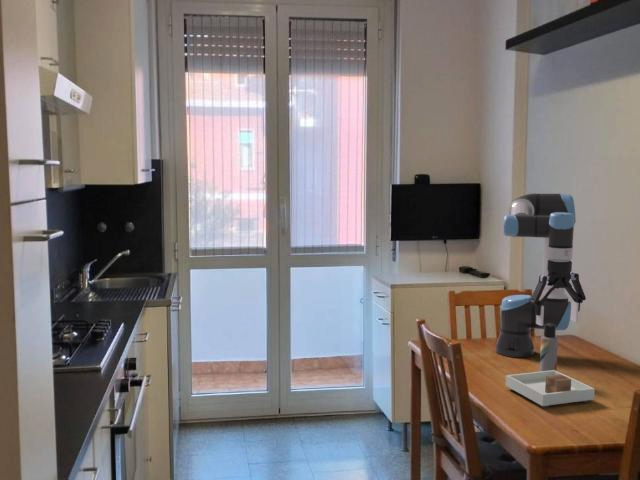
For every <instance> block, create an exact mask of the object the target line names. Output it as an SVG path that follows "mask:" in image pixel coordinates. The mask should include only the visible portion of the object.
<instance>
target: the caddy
mask: <svg viewBox="0 0 640 480" xmlns="http://www.w3.org/2000/svg"><path fill="white" fill-rule="evenodd" d="M557 374H561V375H563V376H565V377H567V378H569V379H571V391H562V392H554V393H546V392H545V385H546V376H548V375H557ZM505 387H507V388H509V389H510V391H512V392H516V393H517V394H520V395H522V396H523V397H525V398H527V399H528V400H531V401H532V402H534V403H536V404H537V405H539V406H540V408H542V409H548V408H549V406H553V405H554V406H555V405H562V404H569V403H575V402H576V403H577V402H578V403H579V402H580V403H581V404H582V403H583V404H587V403H589V401H594V400H595V391H596V389H595V388H594V387H592V386H590V385H588V384H586V383H584V382H582V381H579V380H577V379H575V378H572V377H571V376H569V375H566V374H564V373H562V372H560V371H555V370H550V371H541V372H540V371H533V372H524V373H516V374H515V373H514V374H507V375H505Z"/></svg>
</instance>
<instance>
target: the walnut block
mask: <svg viewBox="0 0 640 480" xmlns="http://www.w3.org/2000/svg"><path fill="white" fill-rule="evenodd" d="M562 391H571V379H569V378H567V377H565V376H563V375H561V374H557V375H548V376H546V385H545V392H546V393H554V392H562Z"/></svg>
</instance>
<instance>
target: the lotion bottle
mask: <svg viewBox="0 0 640 480" xmlns="http://www.w3.org/2000/svg"><path fill="white" fill-rule="evenodd" d="M556 331H557V330H556V325H555V324H553V323H546V324H544V329H543V335H542V336H540V352H539V353H540V356H539V372H541V371H550V370H555V371H557V370H558V367H557V366H558V350H559V349H558V348H559V338H558V336H556Z"/></svg>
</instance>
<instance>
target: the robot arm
mask: <svg viewBox="0 0 640 480" xmlns="http://www.w3.org/2000/svg"><path fill="white" fill-rule="evenodd" d="M576 219H577V218H576V208H575V201H574V197H573V196H572V195H571V194H567V193H536V192H535V193H527V194H523V195H521V196H518V197H517V198H515V199H514V200H512V201H511V203H510V205H509V207H508V214H506V215H504V217H503V235H504V236H505V237H512V238H516V237H517V238H543V245H542V246H543V250H542V257H543V258H542V270H541V271H542V273H541V274H540V275H538V282H537V284H536V286H535V289H534V291H533V293H532V295H529V294H512V295H508V296H506V297H504V298H502V300H501V307H500V313H501V314H500V332H499V335H498V338H497V340H496V341H497V342H496V343H495V347H494V349H495V353H497V354H498V355H501V356H506V357H509V358H528V357H529V358H530V357H532V356H534V355H535V347H534V343H533V340H532V337H531V329H534V330H535V329H536V330H544V324H546V323H553V324H555V325H556V331H566V330H567V329H568V328H569V326H570V321H571V322H574V323H578V322H579V313H580V310H581V304H583V302H584V301H586V300H587V297H586V295H585V292H584V290H583V287H582V284H581V282H580V275H579V273H575V272H572V270H573V267H572V266H573V262H572V259H573V249H574V248H573V247H574V246H573V245H574V244H573V241H574V230H575V229H574V227H575V223H576ZM570 280H571V282H570ZM565 291H566V292H567V293H565ZM567 294H568V295H569V296H570V298H571V299H572V300H573V301H569V296H568V295H567Z"/></svg>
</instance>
